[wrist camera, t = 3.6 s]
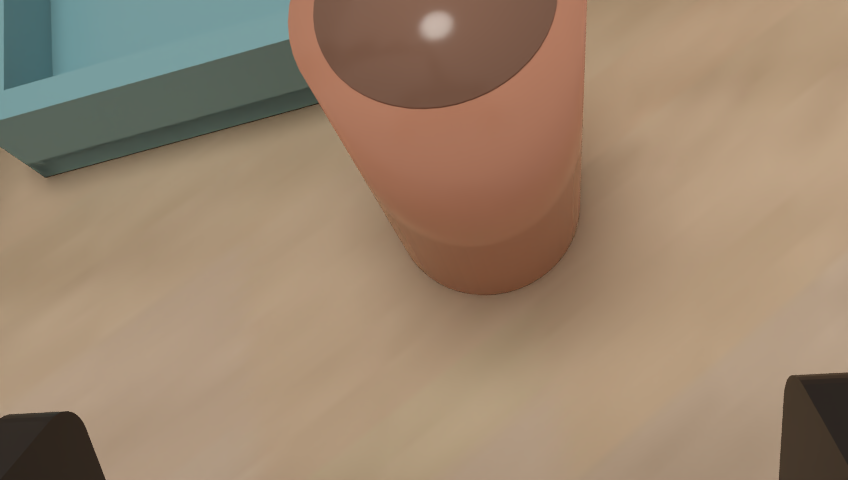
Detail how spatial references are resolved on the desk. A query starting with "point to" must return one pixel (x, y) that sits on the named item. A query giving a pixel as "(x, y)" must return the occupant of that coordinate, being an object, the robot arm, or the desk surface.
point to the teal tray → (138, 74)
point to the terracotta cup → (458, 124)
